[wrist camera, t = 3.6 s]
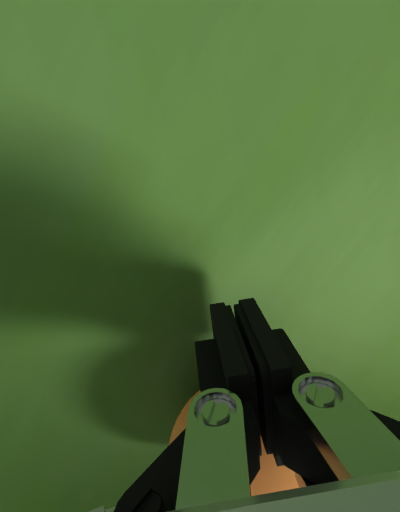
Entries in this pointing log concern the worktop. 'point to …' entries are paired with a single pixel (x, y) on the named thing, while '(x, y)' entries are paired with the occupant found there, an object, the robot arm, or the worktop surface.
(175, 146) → the worktop surface
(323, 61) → the worktop surface
